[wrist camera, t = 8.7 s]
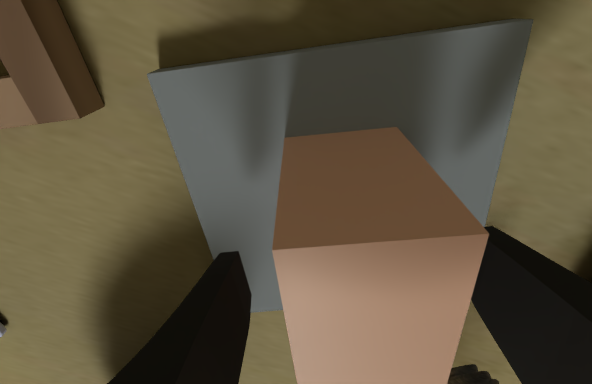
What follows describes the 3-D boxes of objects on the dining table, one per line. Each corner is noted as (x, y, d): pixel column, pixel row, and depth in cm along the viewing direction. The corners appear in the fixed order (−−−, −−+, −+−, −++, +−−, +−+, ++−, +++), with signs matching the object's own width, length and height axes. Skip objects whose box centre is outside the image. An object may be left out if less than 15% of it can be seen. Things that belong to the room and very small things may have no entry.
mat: (236, 298, 17) (233, 313, 16) (158, 69, 11) (146, 74, 10) (459, 279, 16) (468, 294, 15) (512, 18, 10) (533, 19, 9)
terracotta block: (300, 260, 14) (301, 406, 9) (284, 137, 11) (271, 249, 6) (388, 254, 14) (442, 400, 9) (396, 126, 11) (489, 233, 6)
